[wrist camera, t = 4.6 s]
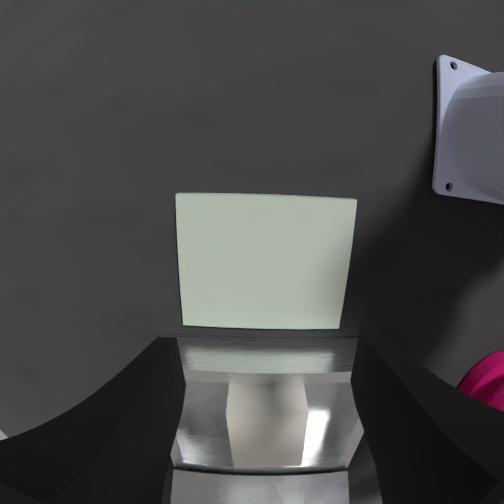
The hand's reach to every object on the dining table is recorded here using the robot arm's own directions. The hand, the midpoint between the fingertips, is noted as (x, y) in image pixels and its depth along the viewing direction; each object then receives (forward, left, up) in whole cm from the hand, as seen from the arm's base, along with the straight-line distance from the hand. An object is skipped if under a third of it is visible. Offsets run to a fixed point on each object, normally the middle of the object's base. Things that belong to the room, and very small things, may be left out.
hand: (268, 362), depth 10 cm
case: (-1, +10, -8) cm, 13 cm away
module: (-1, +9, -8) cm, 12 cm away
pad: (0, 0, -8) cm, 8 cm away
